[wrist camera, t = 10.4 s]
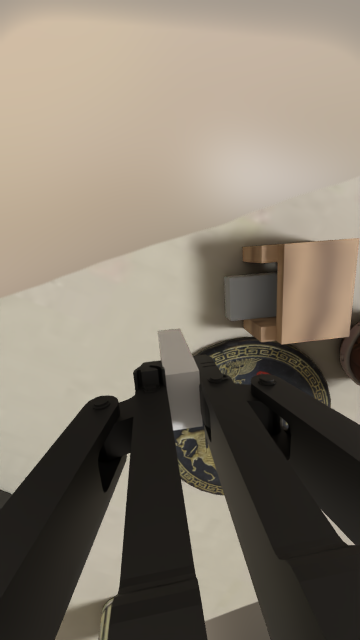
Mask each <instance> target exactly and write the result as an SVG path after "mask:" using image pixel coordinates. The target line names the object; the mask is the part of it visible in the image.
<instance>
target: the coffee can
mask: <svg viewBox="0 0 360 640" xmlns="http://www.w3.org/2000/svg"><path fill="white" fill-rule="evenodd" d="M113 599H114V598H112V599H111V600H109V601H108V602H107V603H106V604H105V605H104V607H103V609H102V613H101V624H100V632H99V639H98V640H107V639H108V629H109V621H110V613H111V606H112V603H113Z"/></svg>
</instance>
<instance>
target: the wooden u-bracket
mask: <svg viewBox="0 0 360 640" xmlns="http://www.w3.org/2000/svg"><path fill="white" fill-rule="evenodd" d="M358 245H359V238H355V239H341V240H327V241H314V242H301V243H288V244H276V245H263V246H250V247H243V262H254V263H270V262H278V273H277V315H276V316H275V317H266V318H256V319H246V320H243V328H244V329H245V330H247V331H248V332H249V333H250V334H252V335H253V336H254V337H255V338H256V339H258V340H259V341H260V342H267V341H277V342H279V343H280V344H290V343H299V342H308V341H316V340H325V339H334V338H342V337H349V334H350V324H351V314H352V304H353V294H354V285H355V275H356V265H357V255H358Z"/></svg>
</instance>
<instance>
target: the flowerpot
mask: <svg viewBox="0 0 360 640" xmlns="http://www.w3.org/2000/svg"><path fill="white" fill-rule="evenodd" d="M340 362H341V365H342V367H343V369H344V371H345V372H346V374H347V375H348V376H349V377H350V378H351V379H352V380H353V381H354V382H355V383H356V384H357V385H360V322H358V323H357V324H356V325H354V326H352V327H351V328H350V334H349V337H345V338H343V339H342V343H341V346H340Z"/></svg>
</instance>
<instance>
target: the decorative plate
mask: <svg viewBox="0 0 360 640" xmlns="http://www.w3.org/2000/svg"><path fill="white" fill-rule="evenodd" d="M205 354H206V355H208V356H210V357H212V359H213V360H214V362H215V364H216V366H217V367H218V368H219V370H220V371H221V373H223V374H226V375H228V376H230V377H231V378H232V380H233V381H234V383H236V384H247V385H251V378H252V377H253V376H256V375H260V374H270V375H274V376H277V377H279V378H281V379H283V380H284V381H286V382H288V383H289V384H291V385H293V386H295V387H296V388H298V389H300V390H301V391H303V392H305V393H306V394H308V395H310V396H311V397H313V398H315V399H317V400H318V401H320V402H322V403H323V404H325V405H327V406H328V407H330V408H331V398H330V394H329V389H328V385H327V383H326V381H325V379H324V377H323V374H322V372H321V371H320V370H319V368H318V367H317V366H316V365H315V364H314V362H313V361H312V360H311V359H310V358H309V357H308V356H306V355H305V354H304V353H302V352H301V351H300V350H298V349H297V348H296V347H293V346H291V345H289V344H280V343H279V342H277V341H267V342H260V341H259V340H258V339H256V338H255V337H244V338H239V339H233V340H228V341H225V342H222V343H219V344H217V345H214V346H212V347H209V348H207V349H206V350H204V351H202V352H201V353H199V354H197V355H205ZM197 355H196V356H197ZM202 423H203V426H201V427H194V428H187V429H180V430H174V431H173V432H174V438H175V445H176V451H177V458H178V464H179V471H180V477H181V479H182V480H184V481H185V482H186V483H187V484H189V485H191V486H193V487H195V488H197V489H199V490H201V491H205V492H208V493H212V494H216V495H224V492H223V489H222V486H221V483H220V479H219V476H218V473H217V470H216V467H215V464H214V461H213V458H212V454H211V451H210V448H209V445H208V448H206V445H205V428H204V421H203V418H202ZM283 425H284V426H285V427H286V428H288V426H289V425H288V424H287V422H286V421H285V420H284V419H283Z"/></svg>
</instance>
